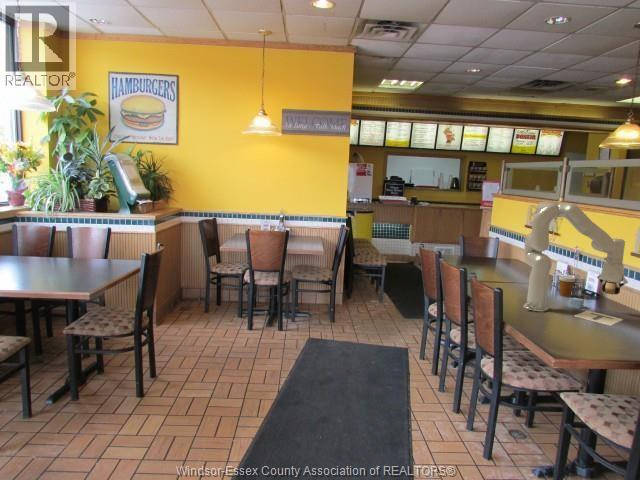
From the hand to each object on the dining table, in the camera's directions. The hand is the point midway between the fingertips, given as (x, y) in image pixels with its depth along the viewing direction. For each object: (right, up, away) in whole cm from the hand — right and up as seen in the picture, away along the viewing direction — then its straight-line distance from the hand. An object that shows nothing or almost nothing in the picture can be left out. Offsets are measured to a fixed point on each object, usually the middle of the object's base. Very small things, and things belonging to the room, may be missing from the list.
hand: (610, 292), depth 252 cm
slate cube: (-14, -10, +9) cm, 19 cm away
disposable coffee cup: (-6, -6, +35) cm, 36 cm away
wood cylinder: (0, 0, 0) cm, 0 cm away
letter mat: (-14, -13, -11) cm, 22 cm away
